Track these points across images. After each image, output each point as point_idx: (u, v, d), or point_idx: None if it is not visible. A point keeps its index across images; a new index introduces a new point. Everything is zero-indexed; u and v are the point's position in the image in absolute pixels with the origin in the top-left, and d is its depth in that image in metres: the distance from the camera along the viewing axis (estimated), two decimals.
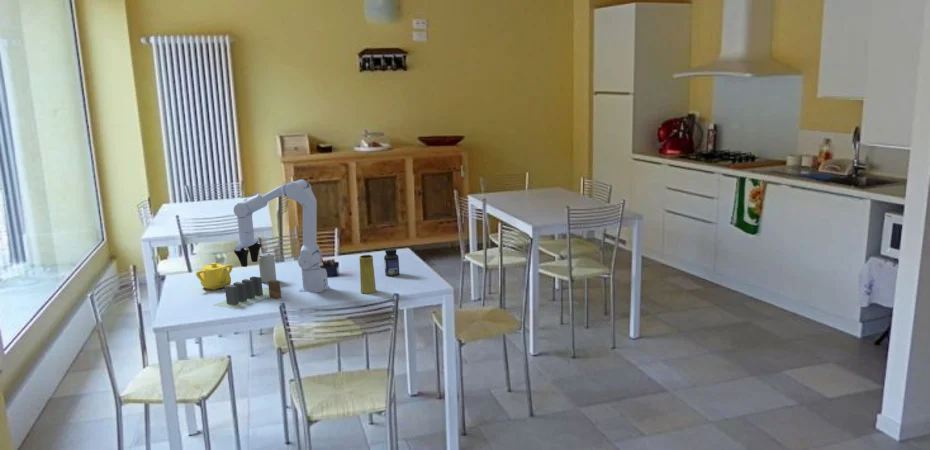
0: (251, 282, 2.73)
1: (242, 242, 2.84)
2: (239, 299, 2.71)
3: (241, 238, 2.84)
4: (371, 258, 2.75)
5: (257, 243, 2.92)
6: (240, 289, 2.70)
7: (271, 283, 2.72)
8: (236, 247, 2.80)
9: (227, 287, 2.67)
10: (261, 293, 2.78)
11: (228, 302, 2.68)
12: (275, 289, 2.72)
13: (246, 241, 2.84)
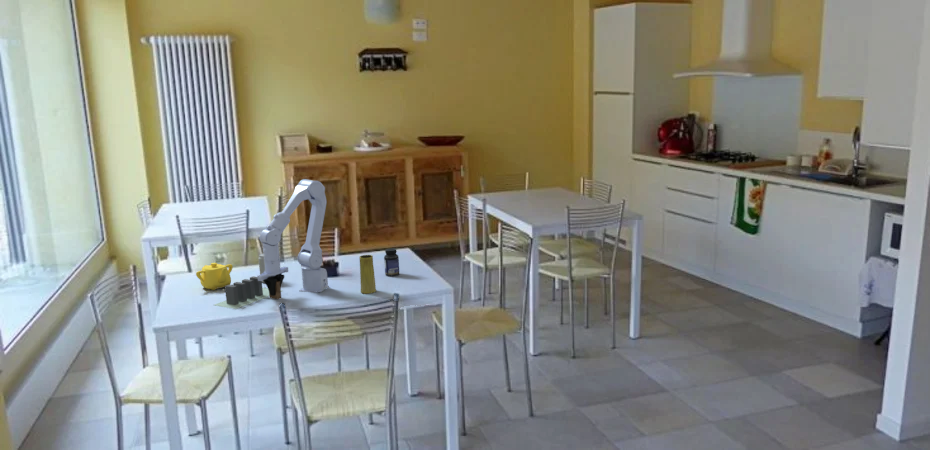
0: (251, 282, 2.73)
1: (266, 271, 2.70)
2: (239, 299, 2.71)
3: (266, 267, 2.70)
4: (371, 258, 2.75)
5: None
6: (240, 289, 2.70)
7: None
8: (258, 277, 2.66)
9: (227, 287, 2.67)
10: (261, 293, 2.78)
11: (228, 302, 2.68)
12: None
13: (270, 271, 2.69)
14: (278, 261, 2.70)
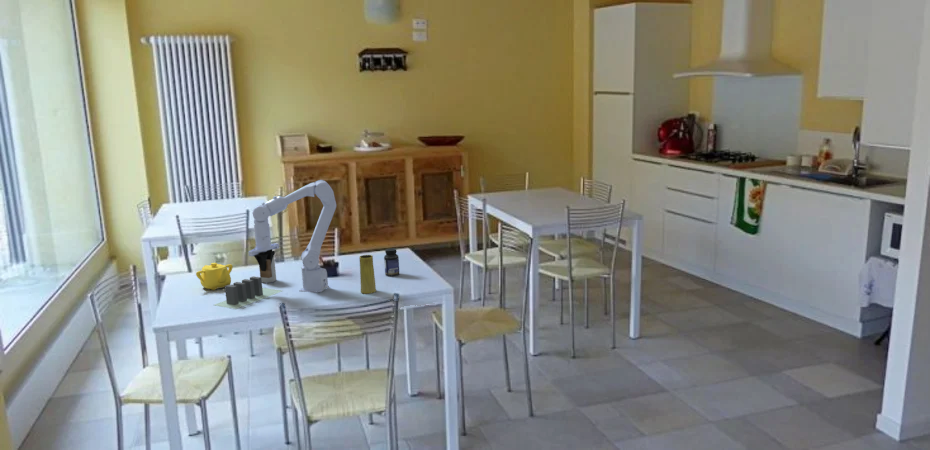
0: (251, 282, 2.73)
1: (257, 247, 2.74)
2: (239, 299, 2.71)
3: (256, 243, 2.74)
4: (371, 258, 2.75)
5: (276, 248, 2.81)
6: (240, 289, 2.70)
7: None
8: (249, 252, 2.70)
9: (227, 287, 2.67)
10: (261, 293, 2.78)
11: (228, 302, 2.68)
12: (266, 267, 2.76)
13: (261, 246, 2.73)
14: (269, 237, 2.75)
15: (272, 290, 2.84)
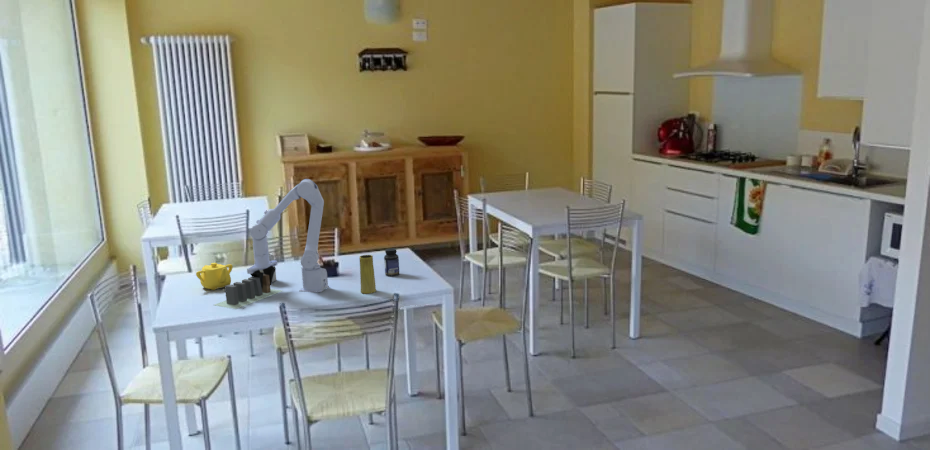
0: (251, 282, 2.73)
1: (256, 265, 2.78)
2: (239, 299, 2.71)
3: (255, 260, 2.78)
4: (371, 258, 2.75)
5: (274, 265, 2.86)
6: (240, 289, 2.70)
7: None
8: (248, 270, 2.75)
9: (227, 287, 2.67)
10: (260, 292, 2.78)
11: (228, 302, 2.68)
12: (264, 282, 2.80)
13: (259, 264, 2.78)
14: (267, 255, 2.79)
15: (272, 290, 2.84)
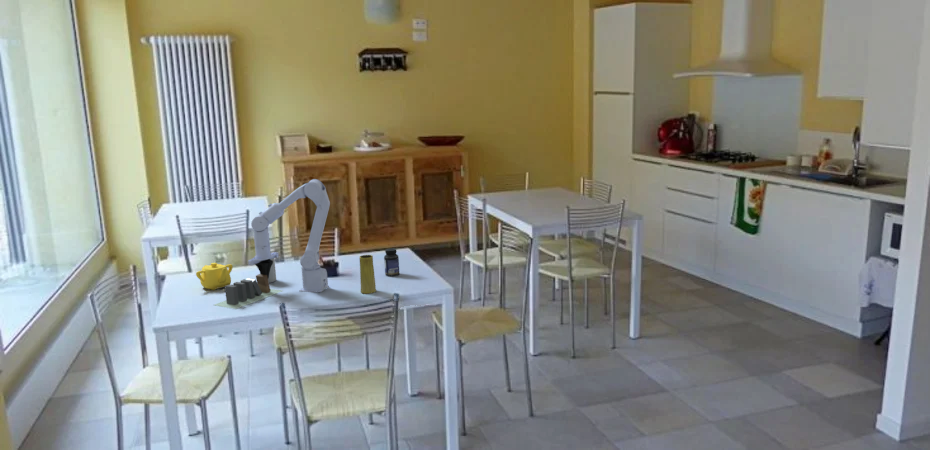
0: (250, 282, 2.73)
1: (257, 256, 2.79)
2: (239, 299, 2.71)
3: (256, 252, 2.78)
4: (371, 258, 2.75)
5: (276, 257, 2.86)
6: (240, 289, 2.70)
7: (259, 277, 2.80)
8: (249, 261, 2.75)
9: (227, 287, 2.67)
10: (260, 292, 2.77)
11: (228, 302, 2.68)
12: (263, 283, 2.80)
13: (261, 255, 2.78)
14: (268, 246, 2.79)
15: (272, 290, 2.84)
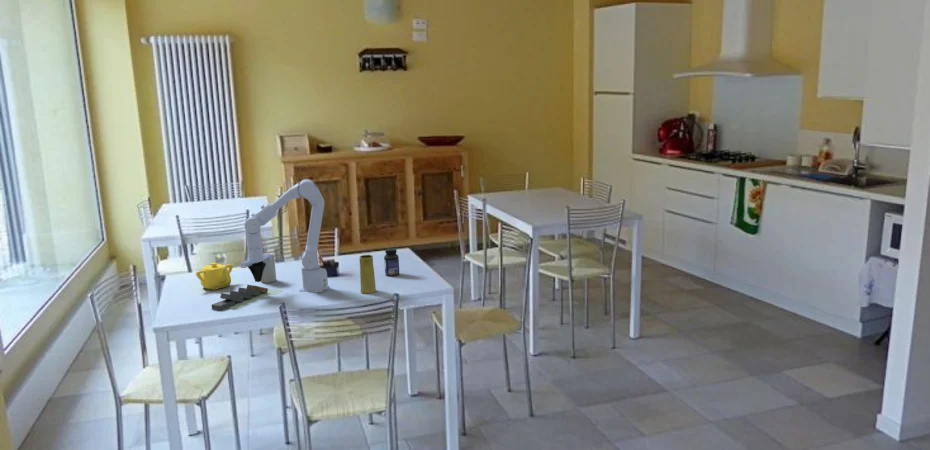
0: (239, 294, 2.68)
1: (249, 259, 2.75)
2: (236, 301, 2.70)
3: (249, 255, 2.75)
4: (371, 258, 2.75)
5: None
6: None
7: None
8: (241, 264, 2.71)
9: None
10: (257, 293, 2.76)
11: None
12: None
13: (253, 258, 2.74)
14: (261, 249, 2.76)
15: (272, 290, 2.84)
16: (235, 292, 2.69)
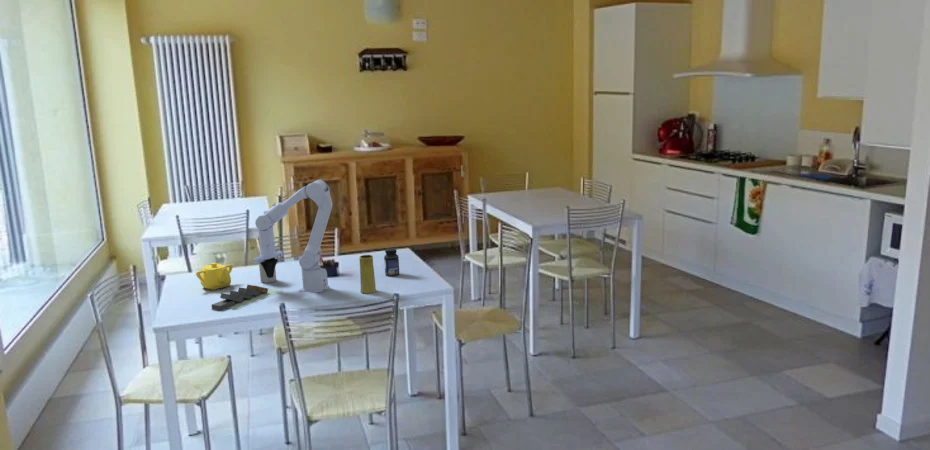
0: (239, 294, 2.68)
1: (262, 255, 2.81)
2: (236, 301, 2.70)
3: (261, 251, 2.81)
4: (371, 258, 2.75)
5: None
6: None
7: None
8: (254, 260, 2.77)
9: None
10: (257, 293, 2.76)
11: None
12: None
13: (265, 254, 2.80)
14: (273, 245, 2.81)
15: (272, 290, 2.84)
16: (235, 292, 2.69)
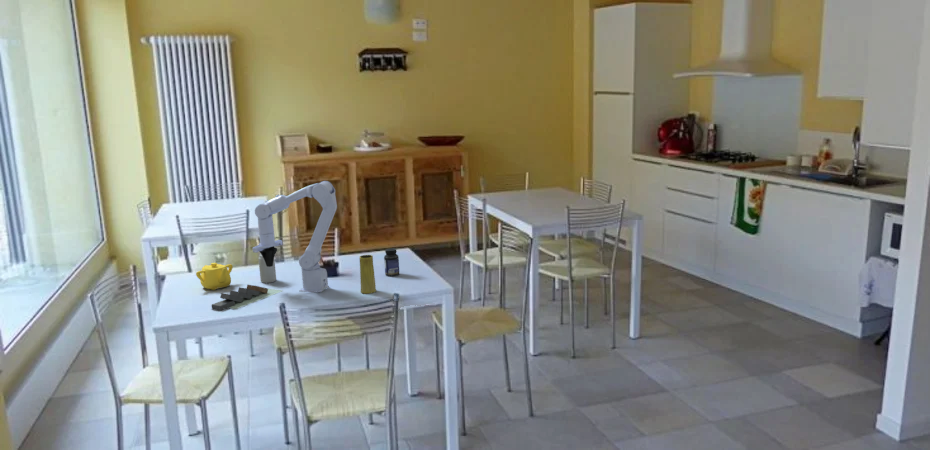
0: (239, 294, 2.68)
1: (261, 244, 2.80)
2: (236, 301, 2.70)
3: (260, 240, 2.80)
4: (371, 258, 2.75)
5: None
6: None
7: None
8: (253, 249, 2.76)
9: None
10: (257, 293, 2.76)
11: None
12: None
13: (265, 243, 2.79)
14: (272, 234, 2.81)
15: (272, 290, 2.84)
16: (235, 292, 2.69)
